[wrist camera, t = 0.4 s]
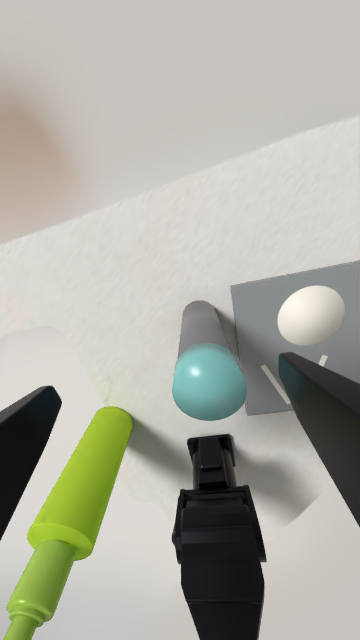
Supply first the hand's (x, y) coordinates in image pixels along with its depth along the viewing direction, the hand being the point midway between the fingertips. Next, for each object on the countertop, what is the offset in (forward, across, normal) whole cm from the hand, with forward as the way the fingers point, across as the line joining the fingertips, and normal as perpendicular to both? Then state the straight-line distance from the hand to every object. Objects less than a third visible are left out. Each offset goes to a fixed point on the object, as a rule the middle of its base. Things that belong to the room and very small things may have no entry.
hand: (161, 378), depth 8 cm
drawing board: (+15, -13, +11) cm, 22 cm away
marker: (+15, -2, +5) cm, 16 cm away
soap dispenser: (+14, +14, +19) cm, 28 cm away
